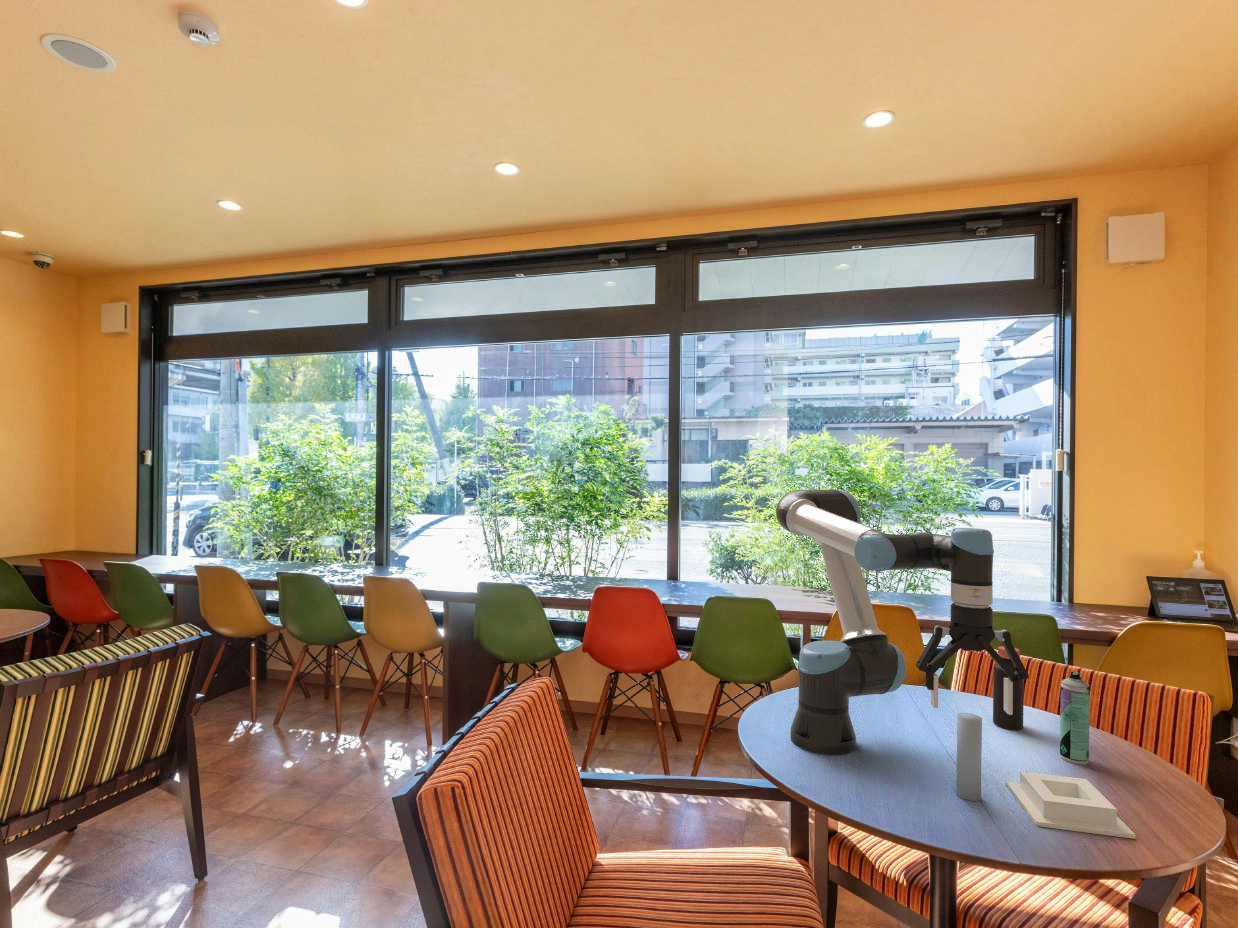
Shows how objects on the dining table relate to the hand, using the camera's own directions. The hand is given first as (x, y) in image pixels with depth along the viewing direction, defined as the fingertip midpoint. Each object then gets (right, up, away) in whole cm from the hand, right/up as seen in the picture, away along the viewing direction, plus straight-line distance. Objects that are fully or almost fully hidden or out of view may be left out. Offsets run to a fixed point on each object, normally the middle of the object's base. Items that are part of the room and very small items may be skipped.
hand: (970, 709), depth 130 cm
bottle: (+30, -19, +37) cm, 51 cm away
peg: (0, -18, 0) cm, 18 cm away
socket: (+16, -18, -5) cm, 24 cm away
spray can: (+34, -19, +18) cm, 42 cm away
